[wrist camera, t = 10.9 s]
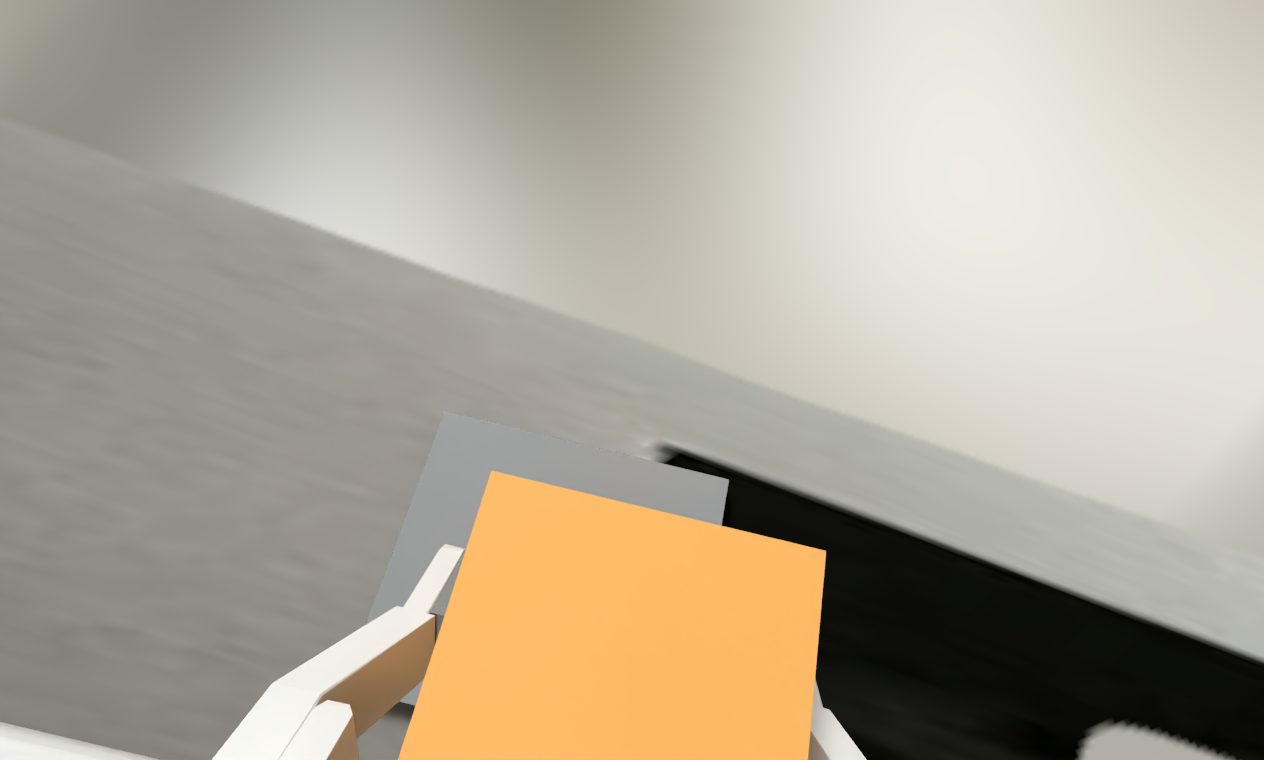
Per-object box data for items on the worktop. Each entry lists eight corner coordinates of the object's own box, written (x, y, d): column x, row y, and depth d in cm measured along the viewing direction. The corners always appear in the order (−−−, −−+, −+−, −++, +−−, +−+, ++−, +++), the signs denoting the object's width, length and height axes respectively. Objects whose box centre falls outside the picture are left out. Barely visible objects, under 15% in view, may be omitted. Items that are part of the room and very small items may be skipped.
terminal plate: (357, 677, 16) (342, 688, 15) (452, 416, 19) (444, 410, 18) (677, 754, 16) (683, 769, 15) (722, 481, 19) (728, 479, 18)
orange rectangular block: (502, 668, 14) (347, 915, 5) (550, 495, 16) (491, 470, 7) (669, 708, 14) (785, 1019, 5) (700, 531, 16) (825, 551, 7)
